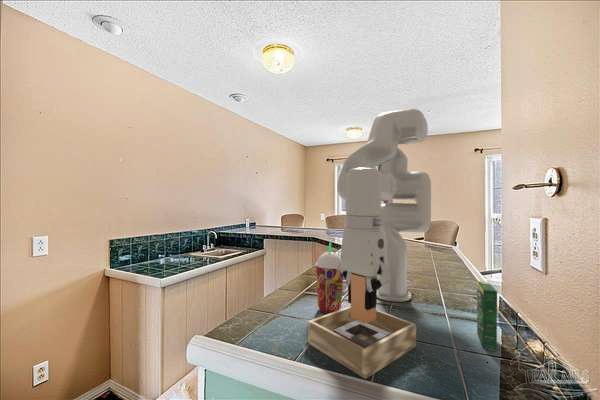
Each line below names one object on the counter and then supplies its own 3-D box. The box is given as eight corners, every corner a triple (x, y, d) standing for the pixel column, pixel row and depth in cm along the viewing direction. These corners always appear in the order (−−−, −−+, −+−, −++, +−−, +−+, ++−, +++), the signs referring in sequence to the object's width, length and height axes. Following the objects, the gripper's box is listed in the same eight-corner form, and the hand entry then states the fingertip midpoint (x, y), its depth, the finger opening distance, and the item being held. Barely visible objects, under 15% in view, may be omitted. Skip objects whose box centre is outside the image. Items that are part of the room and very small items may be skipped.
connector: (361, 312, 65) (361, 265, 65) (376, 318, 62) (376, 269, 62) (350, 317, 63) (350, 268, 62) (365, 323, 60) (365, 272, 59)
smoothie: (343, 317, 76) (343, 245, 76) (313, 315, 78) (313, 244, 78) (344, 306, 84) (345, 241, 84) (317, 304, 86) (317, 240, 86)
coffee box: (475, 332, 68) (476, 279, 68) (489, 335, 67) (490, 281, 67) (481, 348, 61) (482, 289, 61) (497, 351, 60) (498, 291, 60)
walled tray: (358, 321, 74) (358, 302, 74) (415, 346, 61) (416, 324, 61) (307, 343, 62) (308, 321, 62) (365, 379, 50) (365, 351, 50)
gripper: (406, 225, 58) (405, 312, 58) (345, 220, 71) (344, 291, 71) (385, 227, 53) (384, 322, 53) (324, 221, 66) (323, 298, 66)
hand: (361, 304), depth 62 cm, fingers closed on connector, 4 cm apart
